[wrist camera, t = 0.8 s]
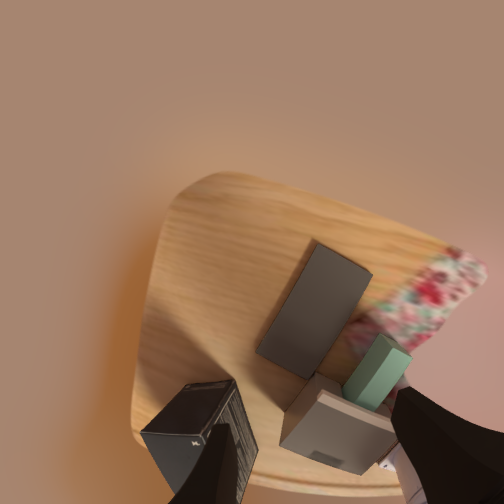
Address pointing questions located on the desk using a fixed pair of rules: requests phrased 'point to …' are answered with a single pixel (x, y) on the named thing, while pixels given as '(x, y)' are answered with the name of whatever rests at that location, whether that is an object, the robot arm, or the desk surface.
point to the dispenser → (336, 428)
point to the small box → (199, 431)
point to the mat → (314, 312)
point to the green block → (376, 373)
